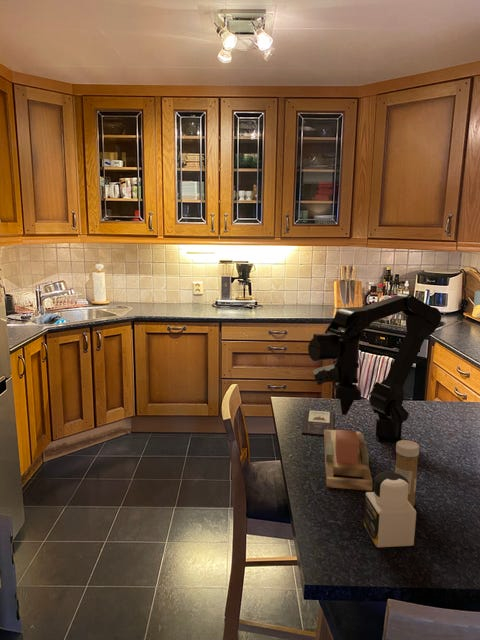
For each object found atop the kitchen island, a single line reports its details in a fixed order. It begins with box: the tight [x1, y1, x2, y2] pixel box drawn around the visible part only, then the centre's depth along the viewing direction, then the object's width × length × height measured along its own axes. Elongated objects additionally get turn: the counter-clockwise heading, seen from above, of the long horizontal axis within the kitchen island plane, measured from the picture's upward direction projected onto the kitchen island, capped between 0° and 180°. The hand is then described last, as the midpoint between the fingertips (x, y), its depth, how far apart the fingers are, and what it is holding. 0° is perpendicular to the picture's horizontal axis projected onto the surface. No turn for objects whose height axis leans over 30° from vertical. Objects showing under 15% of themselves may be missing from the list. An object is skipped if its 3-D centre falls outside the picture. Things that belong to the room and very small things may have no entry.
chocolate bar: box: [301, 409, 335, 437], centre depth 144 cm, size 9×1×18 cm
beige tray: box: [323, 429, 374, 492], centre depth 120 cm, size 10×28×4 cm, turn 171°
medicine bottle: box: [363, 471, 417, 548], centre depth 89 cm, size 7×7×12 cm
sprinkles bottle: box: [394, 439, 420, 507], centre depth 100 cm, size 5×5×14 cm
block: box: [335, 429, 359, 464], centre depth 118 cm, size 5×8×5 cm, turn 171°
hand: (344, 414), depth 127 cm, fingers closed
